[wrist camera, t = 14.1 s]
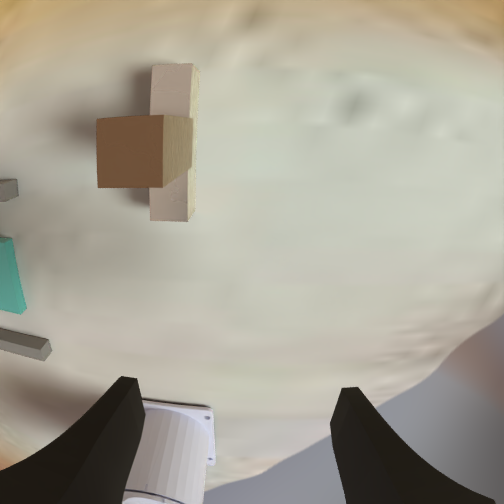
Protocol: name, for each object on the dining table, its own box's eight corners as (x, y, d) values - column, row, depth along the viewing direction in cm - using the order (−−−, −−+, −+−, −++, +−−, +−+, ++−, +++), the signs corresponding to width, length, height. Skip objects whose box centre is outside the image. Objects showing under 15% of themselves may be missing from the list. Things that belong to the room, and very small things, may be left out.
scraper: (199, 209, 19) (165, 266, 11) (159, 208, 19) (104, 262, 11) (203, 71, 16) (169, 33, 8) (161, 72, 16) (101, 41, 8)
